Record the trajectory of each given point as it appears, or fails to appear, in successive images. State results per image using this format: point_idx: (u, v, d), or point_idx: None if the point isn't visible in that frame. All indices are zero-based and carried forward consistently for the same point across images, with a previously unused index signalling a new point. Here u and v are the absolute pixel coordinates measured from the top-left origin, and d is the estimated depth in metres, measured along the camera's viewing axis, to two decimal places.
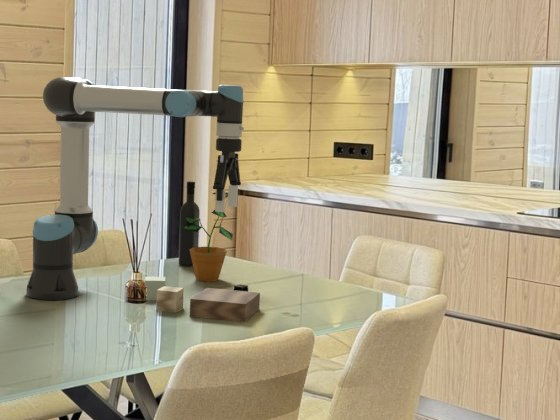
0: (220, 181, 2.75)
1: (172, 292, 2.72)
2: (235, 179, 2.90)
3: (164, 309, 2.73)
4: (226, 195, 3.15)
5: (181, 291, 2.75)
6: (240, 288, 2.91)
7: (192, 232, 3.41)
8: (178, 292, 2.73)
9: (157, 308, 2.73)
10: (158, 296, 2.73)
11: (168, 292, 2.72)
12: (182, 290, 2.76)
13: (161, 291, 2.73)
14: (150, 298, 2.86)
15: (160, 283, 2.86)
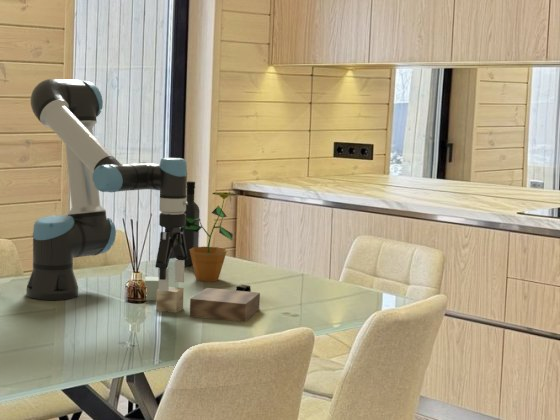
0: (162, 260, 2.64)
1: (172, 292, 2.72)
2: (181, 254, 2.79)
3: (164, 309, 2.73)
4: (226, 195, 3.15)
5: (181, 291, 2.75)
6: (242, 288, 2.91)
7: (192, 232, 3.41)
8: (178, 292, 2.73)
9: (157, 308, 2.73)
10: (158, 296, 2.73)
11: (168, 292, 2.72)
12: (182, 290, 2.76)
13: (161, 291, 2.73)
14: (150, 298, 2.86)
15: None
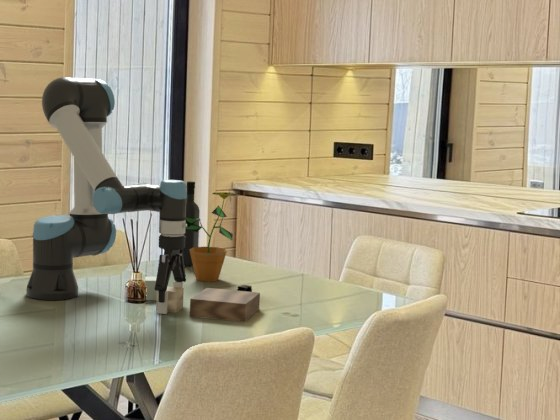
0: (161, 283, 2.65)
1: (172, 292, 2.72)
2: (180, 276, 2.80)
3: None
4: (226, 195, 3.15)
5: (181, 291, 2.75)
6: (244, 288, 2.91)
7: (192, 232, 3.41)
8: (178, 292, 2.73)
9: None
10: None
11: (168, 292, 2.72)
12: (182, 290, 2.76)
13: None
14: (150, 298, 2.86)
15: None
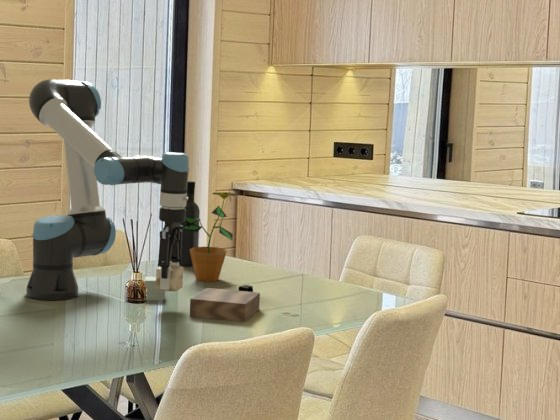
0: (164, 260, 2.68)
1: (172, 271, 2.71)
2: (176, 254, 2.77)
3: None
4: (226, 195, 3.15)
5: (180, 270, 2.75)
6: (245, 289, 2.91)
7: (192, 232, 3.41)
8: (178, 271, 2.73)
9: (156, 287, 2.73)
10: (158, 275, 2.72)
11: None
12: (182, 269, 2.76)
13: None
14: (150, 298, 2.86)
15: None
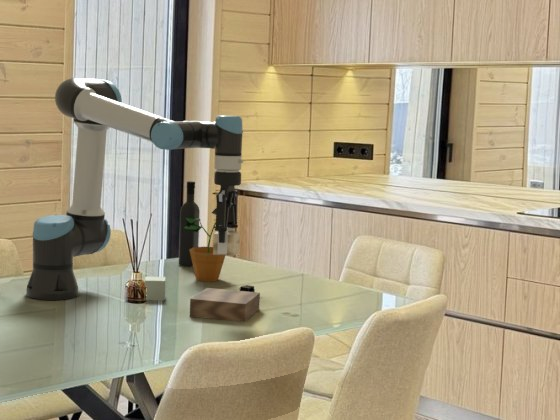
0: (222, 223, 2.64)
1: (229, 235, 2.68)
2: (232, 219, 2.73)
3: None
4: None
5: (237, 234, 2.71)
6: (246, 289, 2.91)
7: (192, 232, 3.41)
8: (235, 235, 2.69)
9: (214, 252, 2.69)
10: (215, 239, 2.69)
11: None
12: (238, 234, 2.72)
13: None
14: (150, 298, 2.86)
15: (160, 283, 2.86)
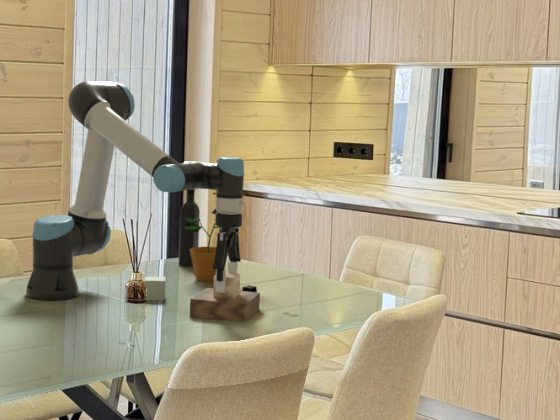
0: (220, 261, 2.63)
1: (229, 278, 2.70)
2: (235, 255, 2.77)
3: (221, 295, 2.71)
4: None
5: (238, 277, 2.73)
6: (248, 289, 2.91)
7: (192, 232, 3.41)
8: (235, 278, 2.71)
9: (214, 294, 2.71)
10: None
11: None
12: (239, 276, 2.74)
13: None
14: (150, 298, 2.86)
15: (160, 283, 2.86)
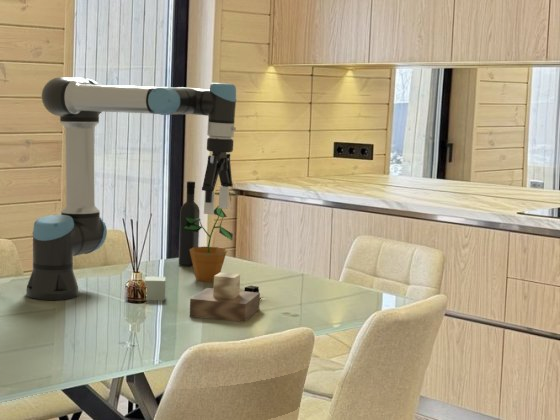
0: (209, 182, 2.66)
1: (229, 278, 2.70)
2: (226, 180, 2.81)
3: (221, 295, 2.71)
4: None
5: (238, 277, 2.73)
6: (251, 289, 2.90)
7: (192, 232, 3.41)
8: (235, 278, 2.71)
9: (214, 294, 2.71)
10: (215, 282, 2.71)
11: (225, 278, 2.70)
12: (239, 276, 2.74)
13: (218, 277, 2.70)
14: (150, 298, 2.86)
15: (160, 283, 2.86)
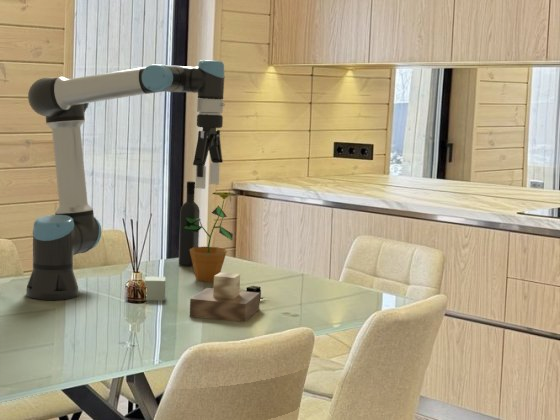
0: (200, 157, 2.72)
1: (229, 278, 2.70)
2: (217, 156, 2.87)
3: (221, 295, 2.71)
4: (226, 195, 3.15)
5: (238, 277, 2.73)
6: (252, 289, 2.90)
7: (192, 232, 3.41)
8: (235, 278, 2.71)
9: (214, 294, 2.71)
10: (215, 282, 2.71)
11: (225, 278, 2.70)
12: (239, 276, 2.74)
13: (218, 277, 2.70)
14: (150, 298, 2.86)
15: (160, 283, 2.86)
